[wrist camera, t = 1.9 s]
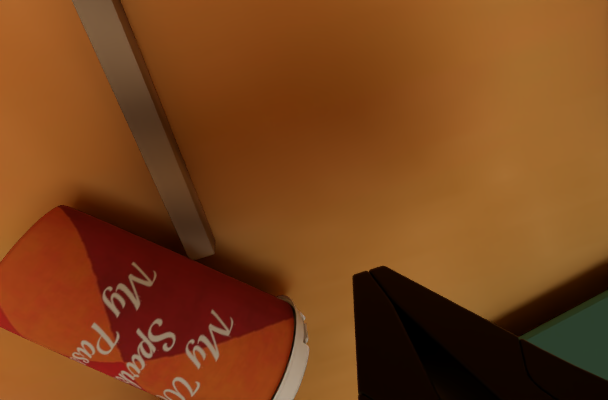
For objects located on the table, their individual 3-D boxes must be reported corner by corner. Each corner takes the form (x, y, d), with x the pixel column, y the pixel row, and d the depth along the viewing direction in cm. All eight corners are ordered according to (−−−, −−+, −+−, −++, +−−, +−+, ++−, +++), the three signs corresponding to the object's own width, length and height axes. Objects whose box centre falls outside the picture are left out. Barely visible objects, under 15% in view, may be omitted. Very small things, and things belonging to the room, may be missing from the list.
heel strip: (215, 241, 22) (214, 253, 20) (192, 247, 22) (190, 261, 20) (95, -61, 14) (82, -72, 13) (59, -54, 14) (42, -64, 13)
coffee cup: (-11, 240, 12) (325, 388, 16) (99, 164, 19) (308, 281, 24) (-78, 384, 14) (232, 476, 19) (43, 266, 21) (243, 353, 26)
